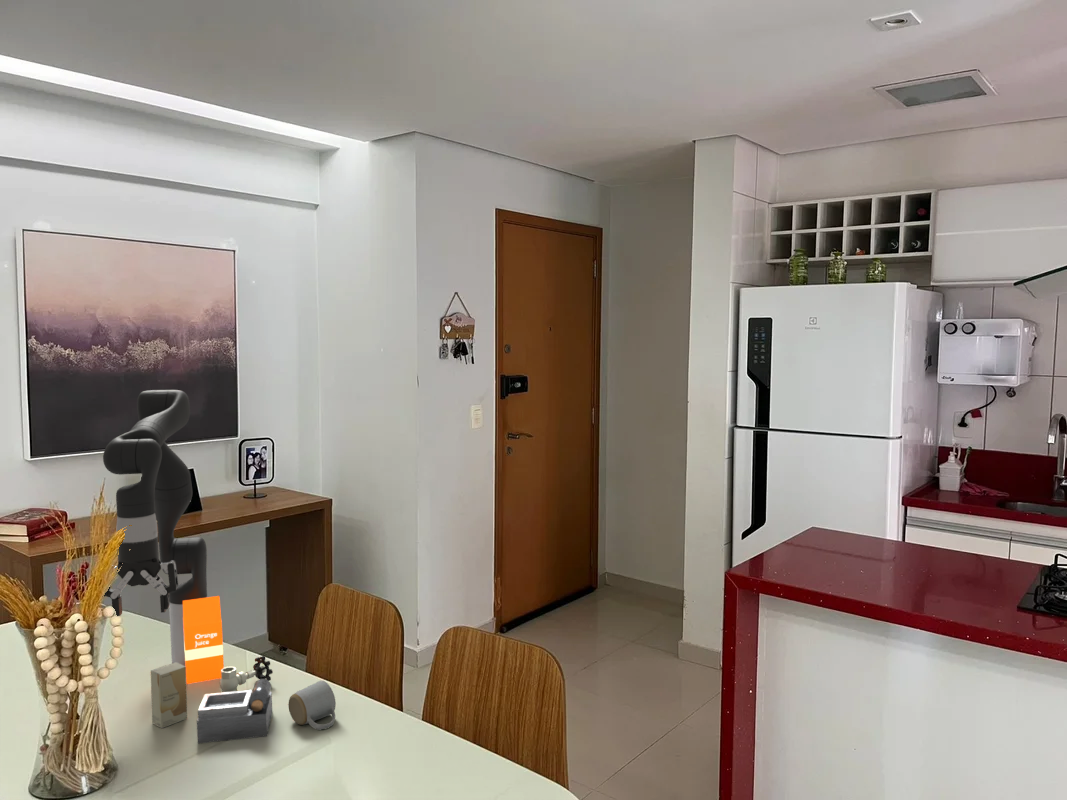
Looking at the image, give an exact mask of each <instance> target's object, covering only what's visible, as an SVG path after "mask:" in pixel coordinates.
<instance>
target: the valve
mask: <svg viewBox="0 0 1067 800" xmlns="http://www.w3.org/2000/svg"><path fill="white" fill-rule="evenodd" d="M254 661H255V664H253V666H252V668H253V669H251V670H248V671H246V672H244V671H238V672H237V667H235V666H224V668H223V669H221V678H220V681H219V688H220V689H221V693H222V692H233V691H238V686H241V685H244V684H246V683H247V680H249V679H252V678H254V677H256V678H257V680H260V679H266V680H268V681H269V682H270V681H271V679H272V677H271V676H270V675H272V674H273V671H274V670H273V669H271V668H270V666H271V661H269V660H266V656H264V655H262V656H260V657H259V656H258V657H256V658H255V659H254ZM261 664H262V665H261ZM264 673H265V674H264Z"/></svg>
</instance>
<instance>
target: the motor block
mask: <svg viewBox="0 0 1067 800" xmlns="http://www.w3.org/2000/svg"><path fill="white" fill-rule="evenodd" d="M271 688H272V684H271V682H270V681H268V680H266V679H257V681H256V682H255V683H254V685H253V688H252V689H247V690H237V691H233V692H222V691H221V692H213V693H205V694H203V698H202V700H201V703H200V705H199V707H198V709H197V719H196V732H197V733H196V734H197V737H196V738H197V744H203V743H205V744H206V743H213V742H214V743H215V742H221V741H222V742H225V741H232V740H233V741H234V740H243V739H253V738H262V737H268V733H269V730H270V725H271V720H272V716H273V694H272V693H273V692H272V691H271Z"/></svg>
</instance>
